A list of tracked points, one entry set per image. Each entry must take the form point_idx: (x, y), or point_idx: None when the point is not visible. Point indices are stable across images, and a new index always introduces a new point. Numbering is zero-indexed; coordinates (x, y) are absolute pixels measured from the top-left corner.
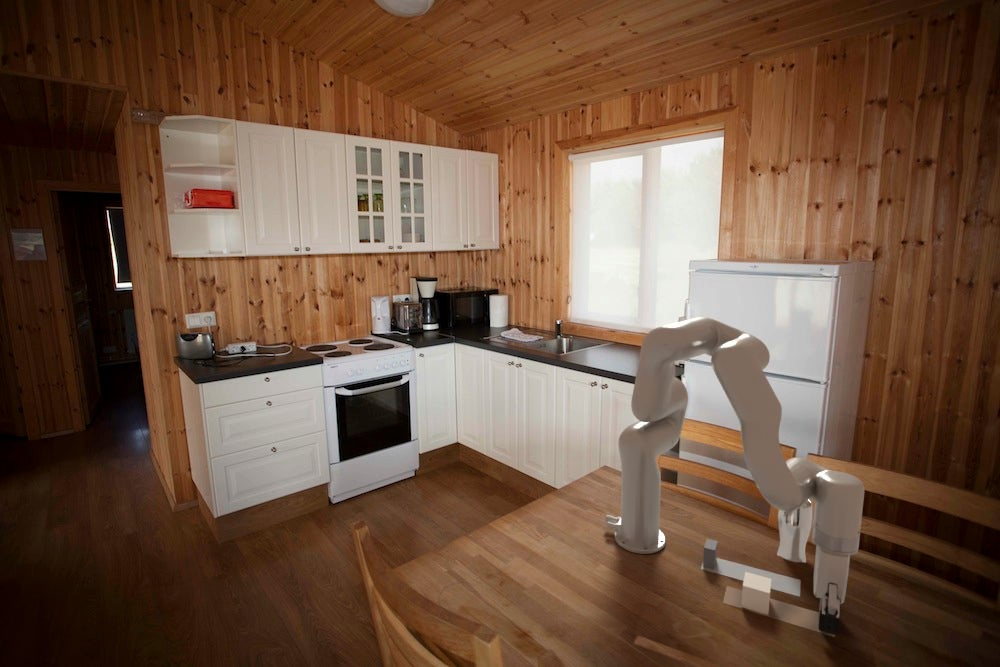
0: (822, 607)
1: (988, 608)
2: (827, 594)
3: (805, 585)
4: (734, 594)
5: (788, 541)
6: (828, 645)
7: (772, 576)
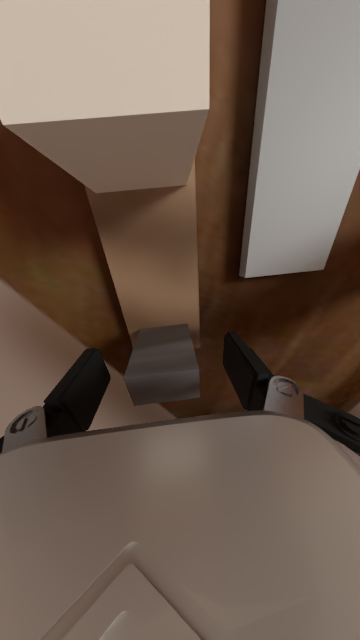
0: (5, 442)
1: None
2: (231, 363)
3: (308, 279)
4: None
5: None
6: (120, 340)
7: (334, 172)
